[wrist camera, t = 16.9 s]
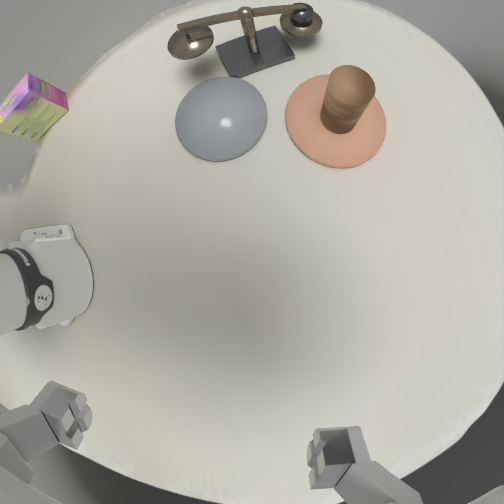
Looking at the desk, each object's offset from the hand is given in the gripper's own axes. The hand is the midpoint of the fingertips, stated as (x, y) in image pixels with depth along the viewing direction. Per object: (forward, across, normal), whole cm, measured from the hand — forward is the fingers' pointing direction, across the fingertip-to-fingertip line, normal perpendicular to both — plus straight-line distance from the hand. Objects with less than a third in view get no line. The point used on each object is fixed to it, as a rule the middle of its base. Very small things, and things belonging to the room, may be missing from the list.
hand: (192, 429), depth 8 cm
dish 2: (+33, -11, -16) cm, 39 cm away
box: (+40, +41, -18) cm, 61 cm away
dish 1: (+35, +5, -15) cm, 38 cm away
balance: (+37, +1, -27) cm, 45 cm away
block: (+32, -11, -17) cm, 38 cm away
